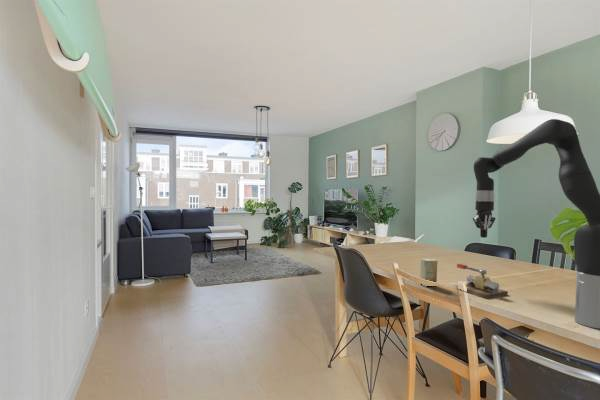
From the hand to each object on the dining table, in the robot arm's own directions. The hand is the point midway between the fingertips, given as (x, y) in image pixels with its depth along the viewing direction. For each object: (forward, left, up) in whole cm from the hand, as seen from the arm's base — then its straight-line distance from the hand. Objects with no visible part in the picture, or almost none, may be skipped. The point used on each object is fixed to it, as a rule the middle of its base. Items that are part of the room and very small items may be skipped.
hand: (483, 237), depth 155 cm
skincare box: (+9, +24, -23) cm, 35 cm away
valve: (-8, +10, -21) cm, 25 cm away
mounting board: (-7, +9, -23) cm, 25 cm away
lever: (-2, +10, -14) cm, 18 cm away
